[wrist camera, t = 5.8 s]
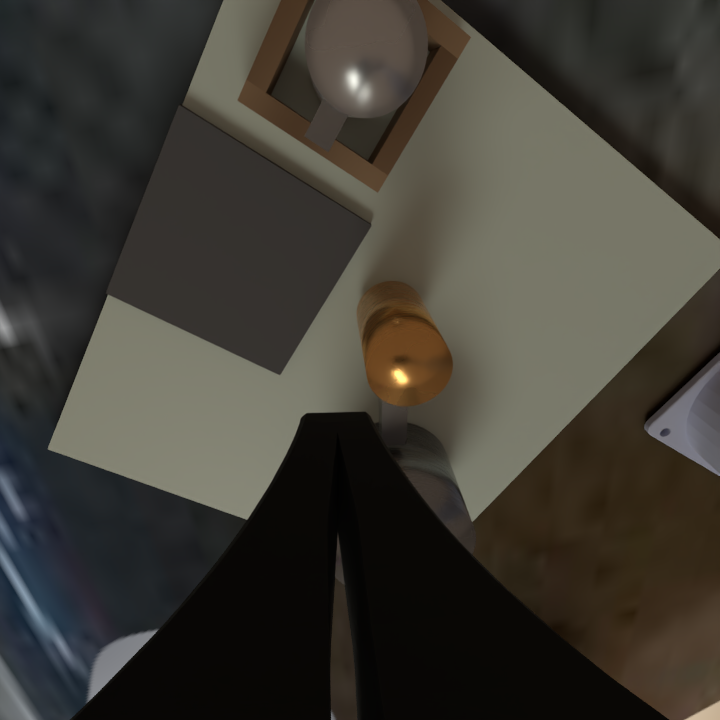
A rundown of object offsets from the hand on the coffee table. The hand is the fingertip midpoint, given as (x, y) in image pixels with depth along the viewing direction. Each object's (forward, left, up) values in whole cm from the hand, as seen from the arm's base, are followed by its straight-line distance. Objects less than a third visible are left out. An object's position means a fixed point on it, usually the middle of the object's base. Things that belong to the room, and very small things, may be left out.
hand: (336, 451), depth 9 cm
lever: (-3, +1, -8) cm, 9 cm away
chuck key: (+3, -7, -9) cm, 12 cm away
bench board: (-3, +1, -10) cm, 10 cm away
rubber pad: (+4, 0, -9) cm, 10 cm away
